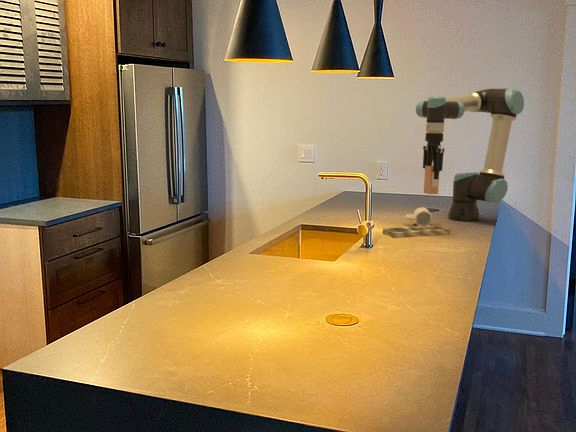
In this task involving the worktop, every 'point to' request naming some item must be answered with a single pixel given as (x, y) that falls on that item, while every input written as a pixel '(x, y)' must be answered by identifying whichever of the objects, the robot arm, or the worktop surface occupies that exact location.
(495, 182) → the robot arm
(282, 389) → the worktop surface
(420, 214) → the mug
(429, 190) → the peg block
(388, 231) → the compartment tray
